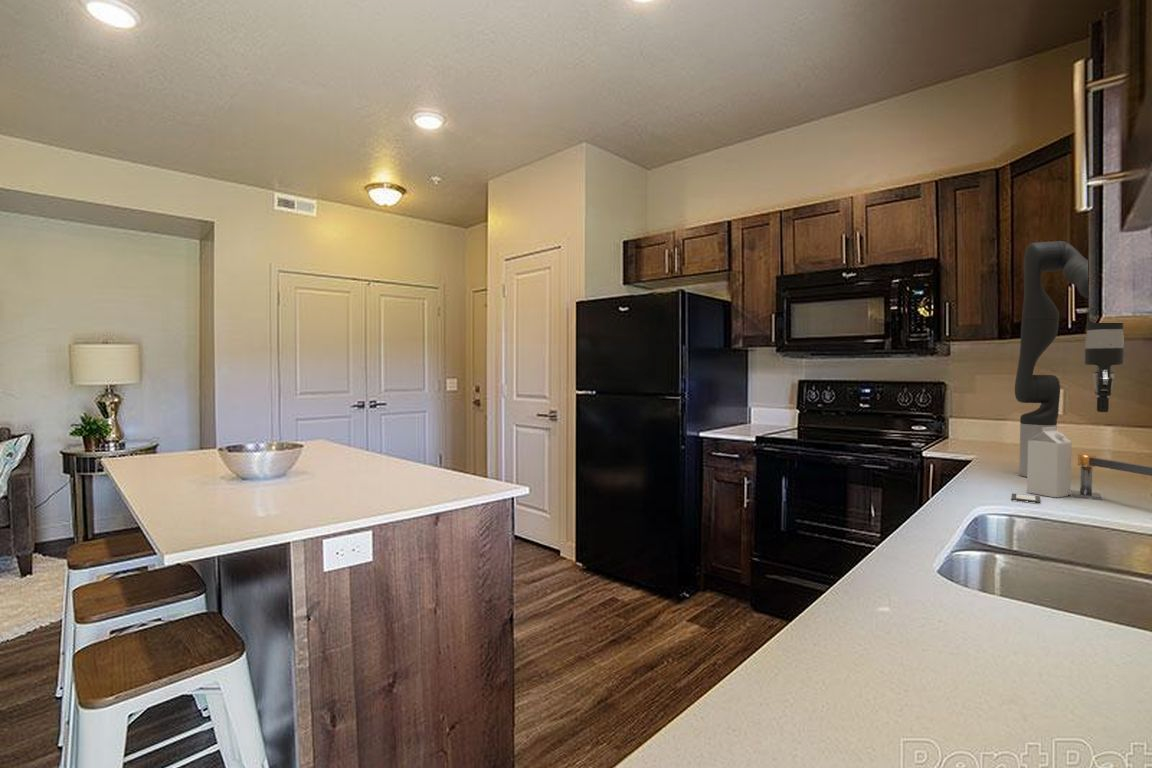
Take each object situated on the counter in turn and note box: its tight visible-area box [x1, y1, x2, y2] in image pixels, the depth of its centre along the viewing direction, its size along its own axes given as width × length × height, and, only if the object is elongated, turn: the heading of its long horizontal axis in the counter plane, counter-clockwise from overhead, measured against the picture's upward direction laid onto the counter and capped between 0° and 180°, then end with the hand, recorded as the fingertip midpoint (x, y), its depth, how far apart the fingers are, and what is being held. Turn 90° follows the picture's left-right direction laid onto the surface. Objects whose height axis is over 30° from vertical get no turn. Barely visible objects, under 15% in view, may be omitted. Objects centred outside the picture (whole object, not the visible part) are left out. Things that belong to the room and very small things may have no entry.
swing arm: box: [1077, 453, 1152, 477], centre depth 144 cm, size 26×4×3 cm, turn 4°
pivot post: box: [1070, 466, 1103, 501], centre depth 155 cm, size 6×6×8 cm
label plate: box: [1011, 492, 1041, 504], centre depth 152 cm, size 8×6×1 cm
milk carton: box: [1026, 425, 1072, 498], centre depth 158 cm, size 7×7×19 cm
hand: (1102, 411), depth 151 cm, fingers closed
